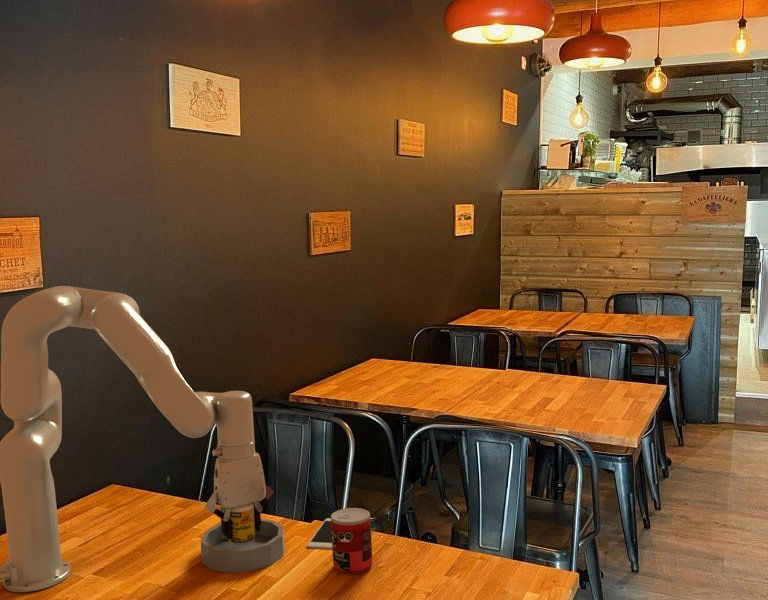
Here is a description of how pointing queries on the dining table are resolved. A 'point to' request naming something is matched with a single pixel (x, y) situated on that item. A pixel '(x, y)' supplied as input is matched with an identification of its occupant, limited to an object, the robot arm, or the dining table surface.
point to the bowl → (243, 549)
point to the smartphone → (322, 536)
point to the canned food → (351, 541)
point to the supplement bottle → (242, 524)
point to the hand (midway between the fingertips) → (241, 532)
